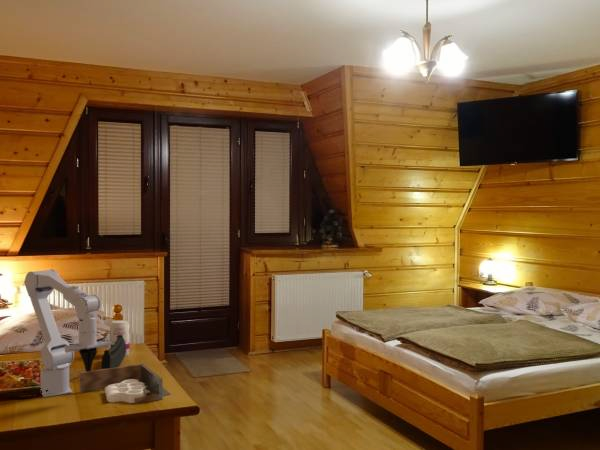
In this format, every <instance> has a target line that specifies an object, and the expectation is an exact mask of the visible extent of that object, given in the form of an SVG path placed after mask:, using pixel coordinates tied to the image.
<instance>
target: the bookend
mask: <svg viewBox="0 0 600 450" xmlns="http://www.w3.org/2000/svg"><path fill="white" fill-rule="evenodd" d="M139 364H140V365H141V382H143V383H144V384H145V386H147V388H146V390H148V391H150V392H149V393H151V395H153V394H159V400H163V397H165V396H169V395H170V396H171V394H172V393H171V392H169V391H168V390H167V389H166V388H164V387H163V378H162V377H160V375H158V374H157V373H156V372H154V371H153V370H152V369H150V368H149V367H148V366H147V365H146V364H145V363H139ZM159 400H158V401H159Z"/></svg>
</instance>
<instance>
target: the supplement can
mask: <svg viewBox="0 0 600 450" xmlns="http://www.w3.org/2000/svg"><path fill="white" fill-rule="evenodd" d="M130 328H131V327H130V323H129V320H127V319H125V320H124V319H118V320H113V321H111V323H110V325H109V335H110V336H109V342H110V348H111V347H112V346H113V345H114V344H115V342H116V340H117V338H118V335H123V339H124V340H125V344H126V354H125V357H127V356H129V355H130V353H131V351H130V349H131V347H130V345H131V344H130V343H131V342H130V341H131V340H130V339H131V338H130V335H131V334H130V332H131V331H130V330H131V329H130ZM110 348H109V349H110Z"/></svg>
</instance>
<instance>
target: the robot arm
mask: <svg viewBox="0 0 600 450" xmlns="http://www.w3.org/2000/svg"><path fill="white" fill-rule="evenodd" d="M23 283H24V286H25V289H26V291H27V295H28V297H29V298H30V301H31V304H32V307H33V311H34V313H35V316H36V319H37V323H38V325H39V328H40V331H41V334H42V337H43V341H44V345H43V346H42V347H41V349H40V351H39V352H40V355H41V364H42V365H43V367H44V368H42V369H40V372H39V374H40V377H39V378H40V384H39V385H40V386H39V387H40V388H41V389H40V388H39V389H40V390H41V391H42V393H41V395H42V397H43V398H47V397H51V396H52V397H53V396H58V395H59V396H60V395H66V394H72V393H73V390H72V389H71V388H70V366H72V363H73V361H74V360H75V352H78V353H79V356H81V359H82V362H83V365H84V372H88V371H92V365H93V363H94V359H95V358H96V356H97V354H98V349H104V348H107V349H110V340H106V341H105V340H104V341H97V340H98V339H97V338H98V337H97V330H98V329H97V326H98V325H97V312H98V311H99V310H100V307H101V301H100V298H99V297H98V296H97V295H96V294H88V293H87V292H86V291H84V290H82V289H81V288H80V287H79V286H78V285H75V284H74V285H70V284H68V282H66V281H65V280H64V279H63V278H62V277H60V275H59V272H57V271H56V270H55V269H46V270H37V271H28V272H27V274H26V275H25V278H24V282H23ZM54 290H56V291H57V292H59V293H61V294H62V296H63V299H64V300H65V301H66V302H68V303H69V304H71V305H72V306H73V307H74V309H75V313H76V318H77V320H78V343H74V344H70V343H69V341H68V340H66V339H64V338H63V337H62V336H61V334H60V331H59V329H58V325H57V323H56V320H55V316H54V313H53V311H52V308H51V306H50V303H49V299H48V297H49V295H51V294H52V293H53V291H54ZM46 390H48V391H46ZM41 391H40V392H41Z"/></svg>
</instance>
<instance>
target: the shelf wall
mask: <svg viewBox="0 0 600 450" xmlns="http://www.w3.org/2000/svg"><path fill="white" fill-rule="evenodd" d="M140 364H141V363H139V364H130V365H124V366H123V365H122V366H119V367H115V368H108V369H101V368H100V369H95V370H91V371H88V372H86V371H81V372H79V393H80V394H81V393H88V392H89V393H90V392H93V391H94V392H95V391H101V390H105V387H107V386H108V385H111V384H117V383H121V382H122V381H124V380H129V379H136V380H139V382H141V365H140ZM154 401H159V394H146V396H141V397H135V403H134V404H136V405H138V404H143V403H149V402H154Z"/></svg>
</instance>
